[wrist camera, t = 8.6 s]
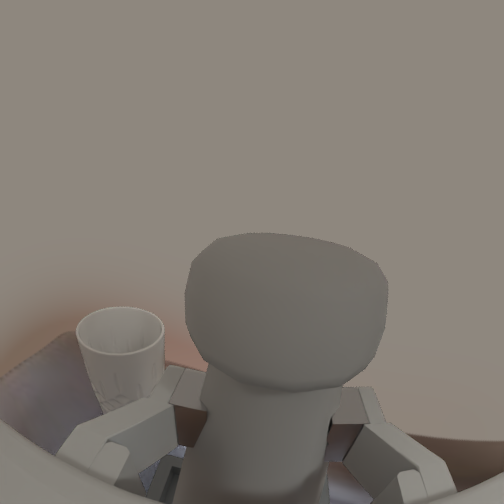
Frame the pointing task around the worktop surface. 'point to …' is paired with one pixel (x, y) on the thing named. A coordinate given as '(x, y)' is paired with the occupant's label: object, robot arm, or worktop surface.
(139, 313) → the white cup
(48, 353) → the worktop surface
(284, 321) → the salt shaker
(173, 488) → the tray
